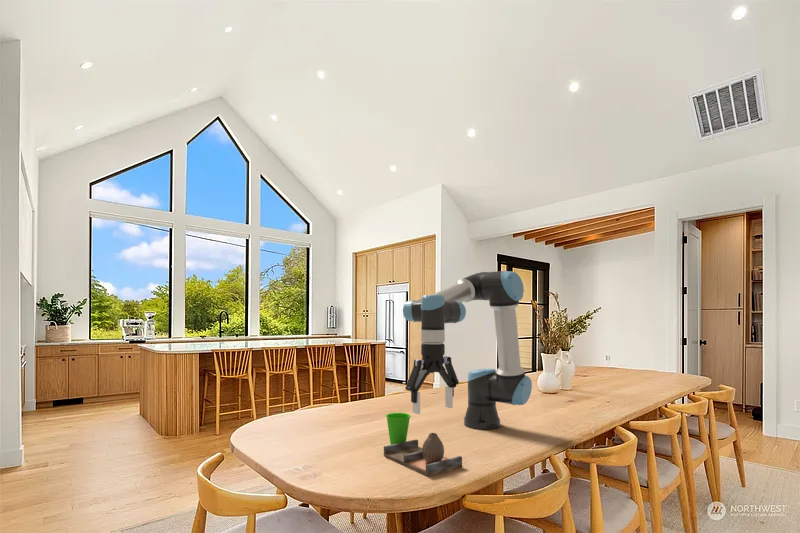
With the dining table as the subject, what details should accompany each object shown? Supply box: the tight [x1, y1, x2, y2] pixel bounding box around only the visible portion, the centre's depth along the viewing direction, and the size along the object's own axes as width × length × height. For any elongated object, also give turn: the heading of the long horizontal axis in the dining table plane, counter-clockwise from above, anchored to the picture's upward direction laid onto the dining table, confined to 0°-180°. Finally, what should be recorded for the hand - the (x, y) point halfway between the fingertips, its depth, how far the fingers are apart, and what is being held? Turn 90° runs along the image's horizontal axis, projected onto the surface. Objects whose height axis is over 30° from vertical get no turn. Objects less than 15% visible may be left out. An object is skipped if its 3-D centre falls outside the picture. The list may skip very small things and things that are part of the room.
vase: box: [421, 432, 445, 464], centre depth 150 cm, size 7×7×9 cm
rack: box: [383, 438, 463, 478], centre depth 154 cm, size 14×23×3 cm, turn 37°
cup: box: [385, 412, 412, 445], centre depth 169 cm, size 9×9×11 cm
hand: (433, 410), depth 151 cm, fingers open, 13 cm apart
